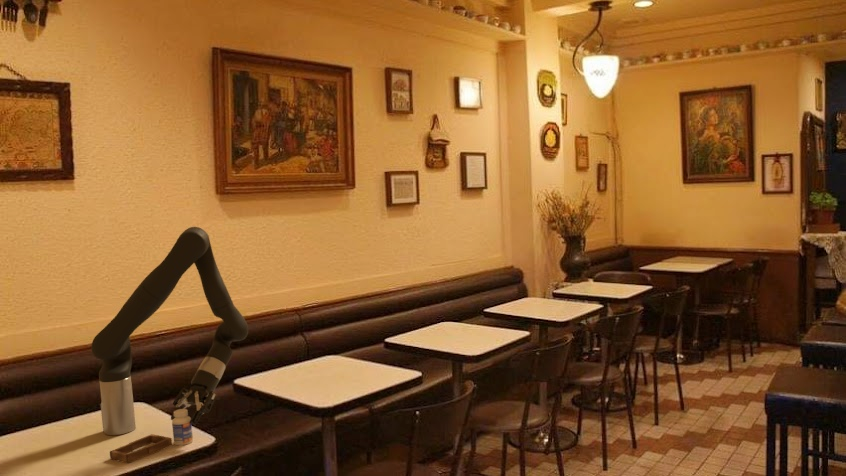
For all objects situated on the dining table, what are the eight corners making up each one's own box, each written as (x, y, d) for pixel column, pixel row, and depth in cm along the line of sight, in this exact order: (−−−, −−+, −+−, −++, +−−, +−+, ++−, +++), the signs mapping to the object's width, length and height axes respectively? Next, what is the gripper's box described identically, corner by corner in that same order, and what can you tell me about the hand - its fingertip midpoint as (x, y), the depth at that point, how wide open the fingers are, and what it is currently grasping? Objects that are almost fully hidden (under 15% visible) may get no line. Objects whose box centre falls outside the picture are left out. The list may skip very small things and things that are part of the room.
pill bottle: (187, 445, 207) (184, 413, 206) (170, 445, 208) (167, 413, 208) (196, 439, 212) (193, 407, 212) (180, 439, 214) (177, 408, 213)
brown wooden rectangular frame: (109, 458, 201) (108, 451, 201) (152, 441, 213) (151, 434, 213) (129, 463, 196) (128, 455, 196) (172, 445, 209) (171, 437, 208)
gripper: (185, 367, 220) (158, 413, 211) (217, 370, 213) (191, 419, 204) (200, 378, 225) (174, 425, 216) (232, 382, 218) (206, 430, 209)
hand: (182, 422), depth 210 cm, fingers open, 8 cm apart
